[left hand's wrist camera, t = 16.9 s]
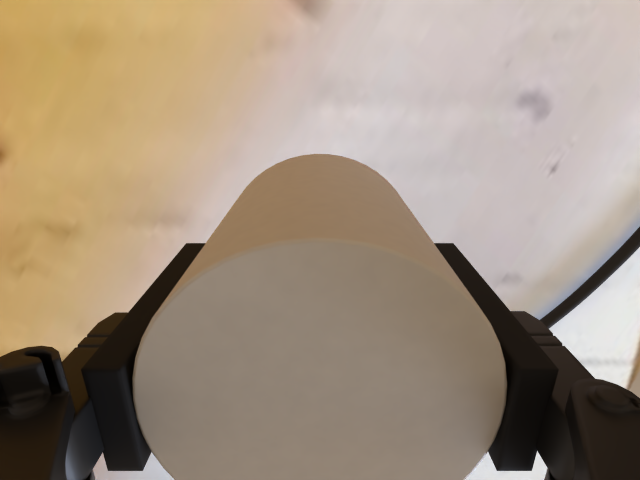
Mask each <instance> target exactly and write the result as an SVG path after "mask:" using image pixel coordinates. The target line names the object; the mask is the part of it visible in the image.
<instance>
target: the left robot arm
mask: <svg viewBox="0 0 640 480" xmlns="http://www.w3.org/2000/svg"><path fill="white" fill-rule="evenodd" d="M205 244H206V243H186V244H185V246H184V247H183V248H182V249H181V250H180V252H179V253H178V254H177V255H176V256H175V258H174V259H173V260H172V261H171V262H170V264H169V265H168V266H167V267H166V268H165V270H164V271H163V272H162V273H161V274H160V275H159V277H158V278H157V279H156V280H155V281H154V283H153V284H152V285H151V286H150V287H149V289H148V290H147V291H146V292H145V293H144V295H143V296H142V297H141V298H140V299H139V301H138V302H137V303H136V304H135V305H134V307H133V308H132V309H131V310H130V311H129V312H128V313H114V314H112V315H111V316H109V317H107V318H106V319H104V320H102V321H101V322H99V323H98V324H97V325H96V326H95V327H94V328H93V329H92V330H91V331H90V333H89V334H88V335H87V337H85V338H84V339H83V340H82V341H81V342H80V343H79V344H78V348H75V349H74V350H73V351H72V352H71V353H70V354H69V355H68V356H67V357H66V358H65V359H64V361H63V362H62V361H61V358H60V354H59V352H58V351H57V350H56V349H54V348H53V347H46V346H36V347H27V348H24V349H20V350H16V351H13V352H10V353H8V354H6V355H4V356H1V357H0V480H95V476H94V472H93V468H94V466H95V464H96V462H97V461H98V459H99V457H100V456H101V454H102V452H103V454H104V458H105V461H106V465H107V469H108V471H143V469H144V467H145V465H146V462H147V460H148V458H149V456H150V454H151V452H152V451H151V449H150V448H149V446H148V444H147V442H146V440H145V438H144V437H143V434H142V431H141V429H140V426H139V423H138V420H137V417H136V412H135V407H134V402H133V371H134V364H135V357H136V354H137V351H138V348H139V345H140V342H141V339H142V336H143V334H144V333H145V331H146V329H147V327H148V325H149V323H150V321H151V319H152V318H153V316H154V315H155V313H156V312H157V311H158V309H159V308H160V306H161V305H162V304H163V302H164V301H165V299H166V298H167V297H168V295H169V294H170V292H171V291H172V290H173V288H174V287H175V286H176V284H177V283H178V281H179V280H180V279H181V277H182V276H183V274H184V273H185V272H186V270H187V269H188V267H189V266H190V265H191V263H192V262H193V260H194V259H195V258H196V256H197V255H198V253H199V252H200V251H201V249H202V248H203V247H204V245H205ZM434 244H435V246H436V247H437V248H438V250H439V251H440V253H441V254H442V255H443V257H444V258H445V260H446V261H447V262H448V264H449V265H450V267H451V268H452V269H453V271H454V272H455V274H456V275H457V276H458V278H459V279H460V281H461V282H462V283H463V285H464V286H465V288H466V289H467V290H468V292H469V293H470V295H471V296H472V297H473V299H474V300H475V301H476V303H477V304H478V306H479V307H480V309H481V310H482V312H483V313H484V315H485V316H486V317H487V319H488V320H489V322H490V323H491V325H492V327H493V330H494V332H495V334H496V336H497V338H498V340H499V343H500V346H501V349H502V353H503V357H504V360H505V366H506V377H507V394H506V406H505V410H504V414H503V418H502V422H501V425H500V427H499V430H498V432H497V435H496V437H495V439H494V442H493V443H492V445H491V447H490V448H489V450H488V452H489V454H490V457H491V459H492V461H493V463H494V465H495V467H496V470H497V471H532V468H533V464H534V460H535V457H536V453H537V451H538V452H539V454H540V456H541V457H542V459H543V461H544V463H545V464H546V466H547V468H548V469H547V472H546V476H545V479H544V480H640V398H639V397H637V396H636V395H635V394H633V393H632V392H630V391H629V390H627V389H625V388H623V387H621V386H619V385H617V384H614V383H611V382H607V381H604V380H600V379H595V378H594V377H593V376H592V375H591V374H590V373H589V372H588V371H587V370H586V369H585V367H584V366H583V365H582V364H581V363H580V362H579V361H578V360H577V359H576V358H575V357H574V356H573V355H572V354H571V352H570V351H569V350H568V349H567V348H566V347H565V346H562V343H561V342H560V341H559V340H558V339H557V337H556V336H553V333H552V332H551V331H550V330H549V328H550V327H551V326H553V325H554V324H555V323H557V322H558V321H559V320H560V319H562V318H563V317H564V316H565V315H567V314H568V313H569V312H570V311H572V310H573V309H574V308H575V307H576V306H578V305H579V304H580V303H581V302H582V301H583V300H585V299H586V298H587V297H588V296H589V295H590V294H591V293H592V292H594V291H595V290H596V289H597V288H598V287H599V286H600V285H601V284H602V283H603V282H604V281H605V280H606V279H608V278H609V277H610V276H611V275H612V274H613V273H614V272H615V271H616V270H617V269H618V268H619V267H620V266H621V265H622V264H623V263H624V262H625V261H626V260H627V259H628V258H629V257H630V256H631V255H632V254H633V253H634V252H635V251H636V250H637V249H638V248H639V247H640V227H639V228H638V229H637V230H636V231H635V233H634V234H633V235H632V236H631V237H630V238H629V239H628V240H627V241H626V242H625V243H624V244H623V246H622V247H621V248H620V249H619V250H618V251H617V252H616V253H615V254H614V255H613V256H612V257H611V258H610V259H609V260H608V261H607V262H606V263H605V264H604V265H603V266H601V267H600V268H599V269H598V270H597V271H596V272H595V273H594V274H593V275H592V276H591V277H590V278H589V279H588V280H587V281H586V282H585V283H584V284H583V285H581V286H580V287H579V288H578V289H577V290H576V291H575V292H574V293H573V294H571V295H570V296H569V297H568V298H567V299H566V300H564V301H563V302H562V303H561V304H560V305H558V306H557V307H556V308H555V309H554V310H552V311H551V312H550V313H548V314H547V315H546V316H545V317H543V318H542V319H541V320H538V319H537V318H535V317H533V316H532V315H530V314H528V313H527V312H525V311H510V310H509V309H508V308H507V307H506V306H505V304H504V303H503V302H502V301H501V300H500V298H499V297H498V296H497V295H496V294H495V293H494V291H493V290H492V289H491V288H490V287H489V285H488V284H487V283H486V282H485V281H484V279H483V278H482V277H481V276H480V275H479V273H478V272H477V271H476V270H475V269H474V267H473V266H472V265H471V264H470V263H469V262H468V260H467V259H466V258H465V257H464V256H463V254H462V253H461V252H460V251H459V250H458V248H457V247H456V246H455V245H454V244H453V243H434Z"/></svg>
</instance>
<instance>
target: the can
mask: <svg viewBox="0 0 640 480" xmlns="http://www.w3.org/2000/svg"><path fill="white" fill-rule="evenodd" d="M506 394H507V377H506V366H505V360H504V357H503V353H502V349H501V346H500V343H499V340H498V338H497V336H496V334H495V332H494V330H493V327H492V325H491V323H490V322H489V320H488V319H487V317H486V316H485V315H484V313H483V312H482V310H481V309H480V307H479V306H478V304H477V303H476V301H475V300H474V299H473V297H472V296H471V295H470V293H469V292H468V290H467V289H466V288H465V286H464V285H463V283H462V282H461V281H460V279H459V278H458V276H457V275H456V274H455V272H454V271H453V269H452V268H451V267H450V265H449V264H448V262H447V261H446V260H445V258H444V257H443V255H442V254H441V253H440V251H439V250H438V248H437V247H436V246H435V244H434V243H433V242H432V240H431V239H430V237H429V236H428V235H427V233H426V232H425V230H424V229H423V228H422V226H421V225H420V223H419V222H418V221H417V219H416V218H415V216H414V215H413V214H412V212H411V211H410V209H409V208H408V207H407V205H406V204H405V202H404V201H403V200H402V198H401V197H400V195H399V194H398V193H397V191H396V190H395V189H394V188H393V186H392V185H391V184H390V183H389V182H388V181H387V180H386V179H385V178H384V177H382V176H381V175H380V174H379V173H377V172H376V171H374V170H373V169H371V168H370V167H368V166H366V165H364V164H362V163H360V162H357V161H355V160H352V159H349V158H345V157H342V156H336V155H329V154H311V155H303V156H298V157H294V158H290V159H287V160H285V161H282V162H280V163H277V164H275V165H274V166H272V167H270V168H268V169H267V170H265V171H264V172H262V173H261V174H260V175H259V176H257V177H256V178H255V179H254V180H253V181H252V182H251V183H250V184H249V185H248V186H247V187H246V188H245V190H244V191H243V192H242V194H241V195H240V196H239V198H238V199H237V201H236V202H235V203H234V205H233V206H232V208H231V209H230V210H229V212H228V213H227V215H226V216H225V217H224V219H223V220H222V221H221V223H220V224H219V226H218V227H217V228H216V230H215V231H214V233H213V234H212V235H211V237H210V238H209V240H208V241H207V242H206V244H205V245H204V247H203V248H202V249H201V251H200V252H199V253H198V255H197V256H196V258H195V259H194V260H193V262H192V263H191V265H190V266H189V267H188V269H187V270H186V272H185V273H184V274H183V276H182V277H181V279H180V280H179V281H178V283H177V284H176V286H175V287H174V288H173V290H172V291H171V292H170V294H169V295H168V297H167V298H166V299H165V301H164V302H163V304H162V305H161V306H160V308H159V309H158V311H157V312H156V313H155V315H154V316H153V318H152V319H151V321H150V323H149V325H148V327H147V329H146V331H145V333H144V334H143V336H142V339H141V342H140V345H139V348H138V351H137V354H136V357H135V364H134V371H133V402H134V407H135V412H136V417H137V420H138V423H139V426H140V429H141V431H142V434H143V437H144V438H145V440H146V442H147V444H148V446H149V448H150V449H151V451H152V453H153V454H154V456H155V457H156V458H157V460H158V461H159V462H160V464H161V465H162V466H163V468H164V469H165V470H166V471H167V472H168V473H169V474H170V475H171V476H172V477H173V478H174V479H175V480H465V479H466V478H467V477H468V476H469V475H470V474H471V473H472V472H473V471H474V469H475V468H476V467H477V466H478V464H479V463H480V462H481V461H482V459H483V458H484V457H485V455H486V453H487V452H488V450H489V448H490V447H491V445H492V443H493V442H494V439H495V437H496V435H497V432H498V430H499V427H500V425H501V422H502V418H503V414H504V410H505V406H506Z"/></svg>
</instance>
